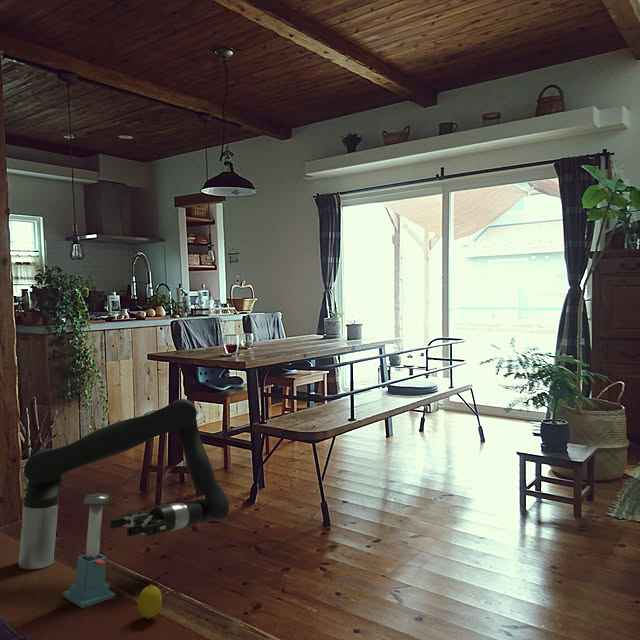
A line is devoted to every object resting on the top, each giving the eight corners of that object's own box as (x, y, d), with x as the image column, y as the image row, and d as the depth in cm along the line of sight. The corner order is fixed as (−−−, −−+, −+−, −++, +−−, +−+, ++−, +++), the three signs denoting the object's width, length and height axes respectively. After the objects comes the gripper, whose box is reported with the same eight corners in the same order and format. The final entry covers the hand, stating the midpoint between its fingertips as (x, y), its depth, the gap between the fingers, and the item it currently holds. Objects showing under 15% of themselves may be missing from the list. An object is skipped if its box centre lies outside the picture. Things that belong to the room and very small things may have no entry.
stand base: (62, 595, 146) (66, 556, 146) (95, 586, 153) (98, 548, 153) (82, 608, 139) (85, 567, 140) (115, 597, 146) (118, 558, 147)
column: (72, 591, 146) (80, 495, 147) (94, 585, 150) (101, 492, 152) (84, 598, 142) (91, 500, 144) (106, 592, 146) (113, 496, 148)
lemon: (153, 625, 132) (156, 590, 133) (132, 622, 133) (134, 587, 134) (164, 615, 138) (167, 582, 138) (144, 612, 139) (146, 579, 139)
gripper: (156, 499, 170) (106, 508, 157) (185, 509, 161) (134, 520, 148) (154, 525, 169) (104, 536, 157) (183, 536, 160) (132, 549, 148)
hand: (119, 528), depth 153 cm, fingers open, 8 cm apart
